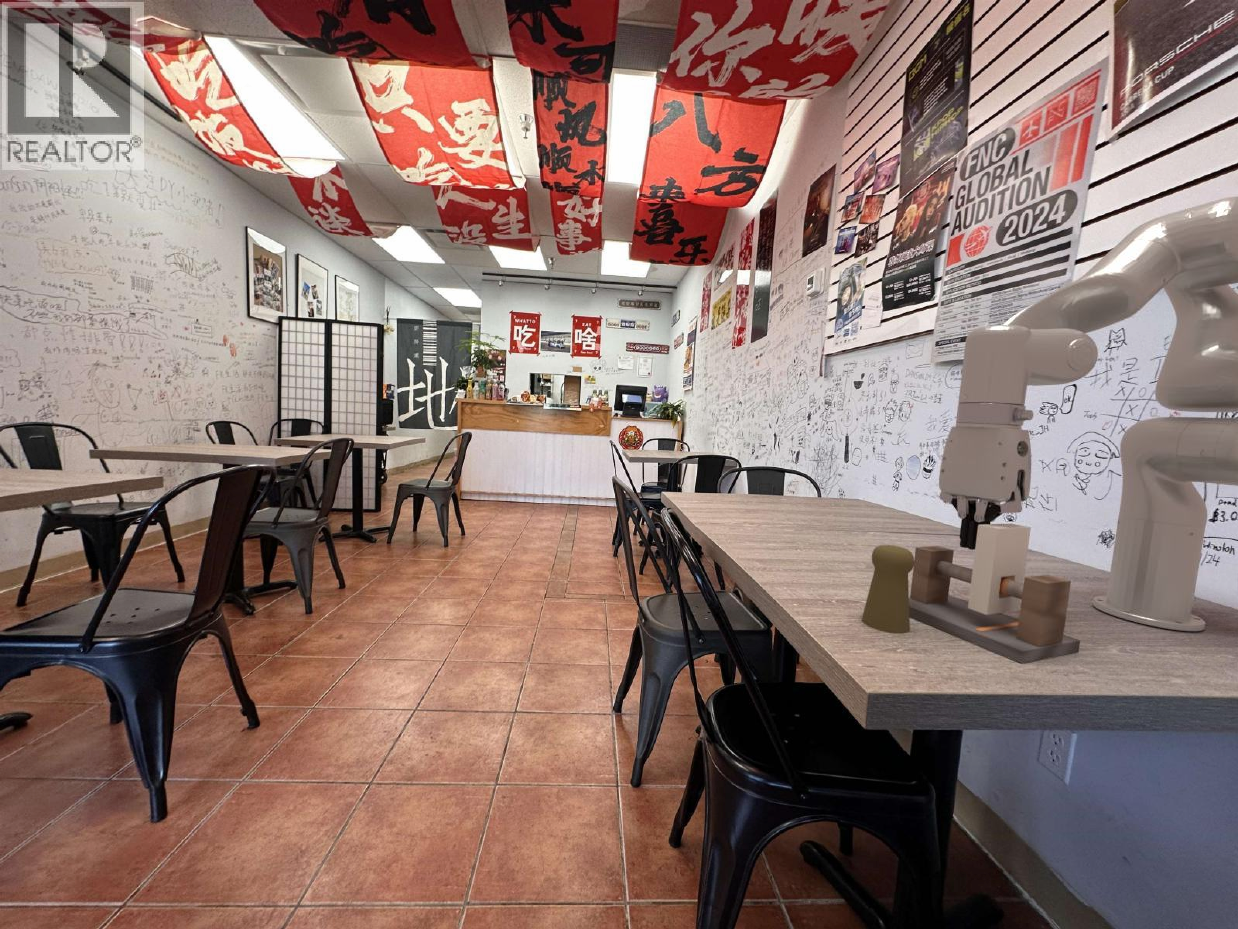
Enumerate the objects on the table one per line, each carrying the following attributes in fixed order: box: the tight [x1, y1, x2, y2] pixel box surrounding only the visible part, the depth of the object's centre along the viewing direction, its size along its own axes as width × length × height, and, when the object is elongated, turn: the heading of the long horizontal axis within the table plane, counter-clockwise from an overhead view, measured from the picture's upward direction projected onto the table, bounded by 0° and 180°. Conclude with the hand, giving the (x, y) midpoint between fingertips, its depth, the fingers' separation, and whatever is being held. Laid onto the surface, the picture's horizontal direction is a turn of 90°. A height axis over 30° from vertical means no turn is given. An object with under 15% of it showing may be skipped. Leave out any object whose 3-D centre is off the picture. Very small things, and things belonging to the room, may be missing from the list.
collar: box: [968, 523, 1032, 615], centre depth 71 cm, size 7×2×12 cm, turn 113°
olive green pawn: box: [861, 544, 915, 634], centre depth 72 cm, size 6×6×11 cm
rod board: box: [909, 545, 1081, 664], centre depth 73 cm, size 12×18×10 cm, turn 23°
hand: (972, 547), depth 74 cm, fingers closed
